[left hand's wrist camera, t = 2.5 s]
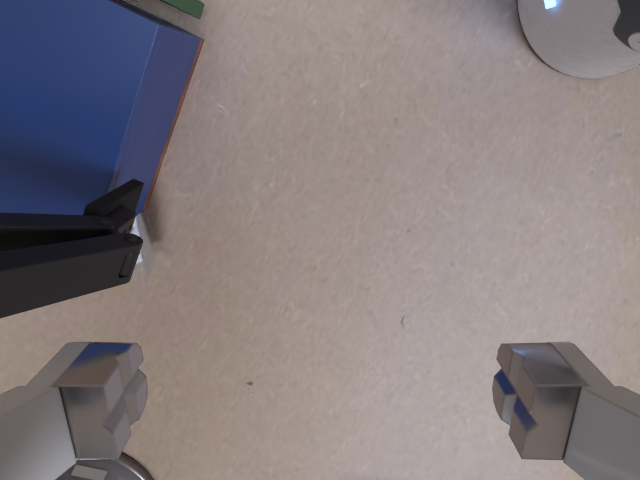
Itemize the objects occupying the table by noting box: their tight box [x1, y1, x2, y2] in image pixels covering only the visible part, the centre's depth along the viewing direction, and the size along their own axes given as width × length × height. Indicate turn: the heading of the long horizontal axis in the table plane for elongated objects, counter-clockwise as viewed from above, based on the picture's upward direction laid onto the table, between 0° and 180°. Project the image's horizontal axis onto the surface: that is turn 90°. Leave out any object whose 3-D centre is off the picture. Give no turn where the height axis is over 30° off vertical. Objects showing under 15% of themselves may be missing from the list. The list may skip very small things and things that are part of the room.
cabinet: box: [0, 0, 204, 216], centre depth 34 cm, size 16×10×11 cm, turn 155°
